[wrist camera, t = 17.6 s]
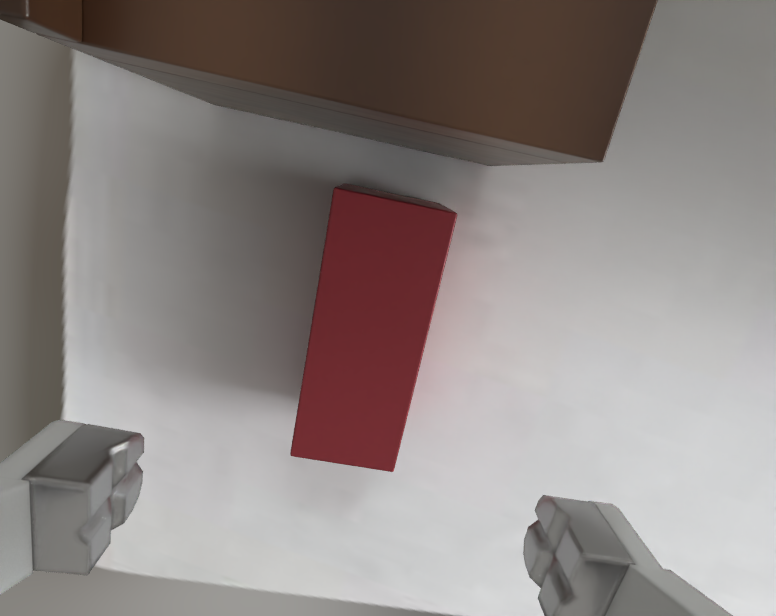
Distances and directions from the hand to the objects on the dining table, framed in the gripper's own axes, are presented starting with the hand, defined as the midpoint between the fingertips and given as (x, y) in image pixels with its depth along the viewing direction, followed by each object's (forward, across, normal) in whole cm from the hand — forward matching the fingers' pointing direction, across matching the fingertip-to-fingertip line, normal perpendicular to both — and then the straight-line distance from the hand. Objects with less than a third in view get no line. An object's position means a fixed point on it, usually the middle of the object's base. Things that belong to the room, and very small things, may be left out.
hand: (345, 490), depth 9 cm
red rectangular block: (+13, 0, 0) cm, 13 cm away
